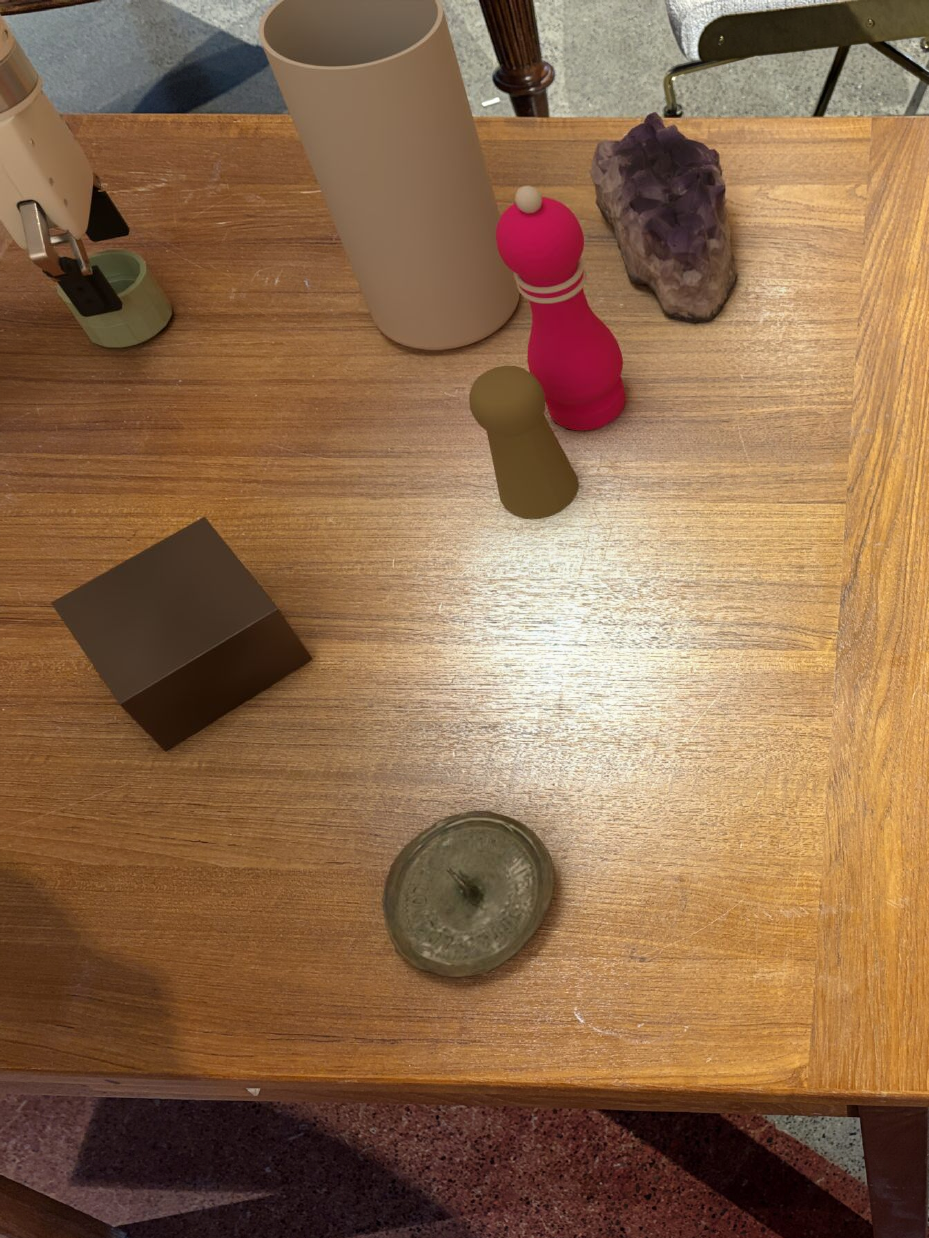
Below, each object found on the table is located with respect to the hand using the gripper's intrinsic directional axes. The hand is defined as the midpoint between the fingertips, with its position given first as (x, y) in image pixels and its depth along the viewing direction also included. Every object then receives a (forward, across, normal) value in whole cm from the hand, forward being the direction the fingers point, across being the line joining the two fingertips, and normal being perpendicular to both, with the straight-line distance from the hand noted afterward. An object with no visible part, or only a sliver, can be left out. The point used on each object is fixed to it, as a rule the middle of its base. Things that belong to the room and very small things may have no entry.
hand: (107, 273), depth 105 cm
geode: (+7, +4, +46) cm, 47 cm away
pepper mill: (+6, +21, +36) cm, 42 cm away
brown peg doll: (+6, +29, +31) cm, 43 cm away
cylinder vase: (+6, +6, +26) cm, 27 cm away
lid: (+6, +62, +23) cm, 66 cm away
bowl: (+5, 0, -1) cm, 5 cm away
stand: (+5, +38, +6) cm, 39 cm away
